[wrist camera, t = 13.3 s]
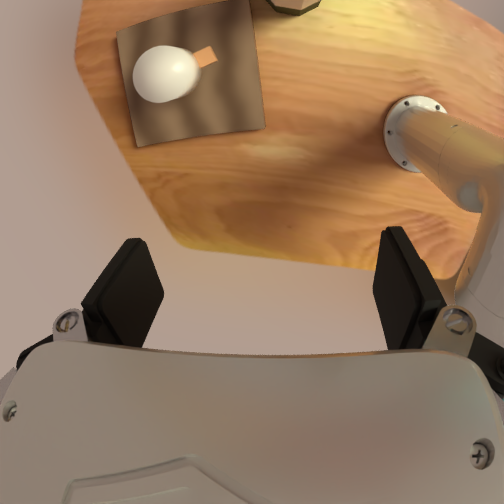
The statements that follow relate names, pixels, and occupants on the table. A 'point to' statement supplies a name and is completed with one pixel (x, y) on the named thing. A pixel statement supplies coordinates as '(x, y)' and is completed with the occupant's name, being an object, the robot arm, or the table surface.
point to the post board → (212, 77)
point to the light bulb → (169, 72)
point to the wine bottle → (293, 6)
